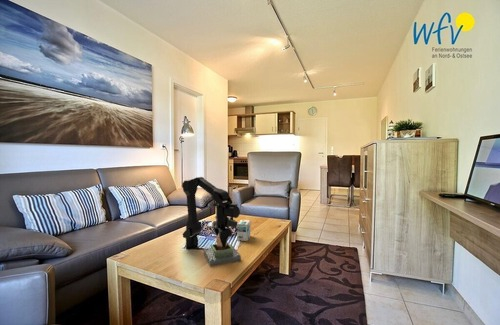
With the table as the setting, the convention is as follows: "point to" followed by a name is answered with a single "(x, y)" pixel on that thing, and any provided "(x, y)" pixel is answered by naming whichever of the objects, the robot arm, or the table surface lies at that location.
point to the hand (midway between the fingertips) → (221, 243)
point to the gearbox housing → (221, 255)
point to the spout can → (220, 244)
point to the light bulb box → (243, 230)
